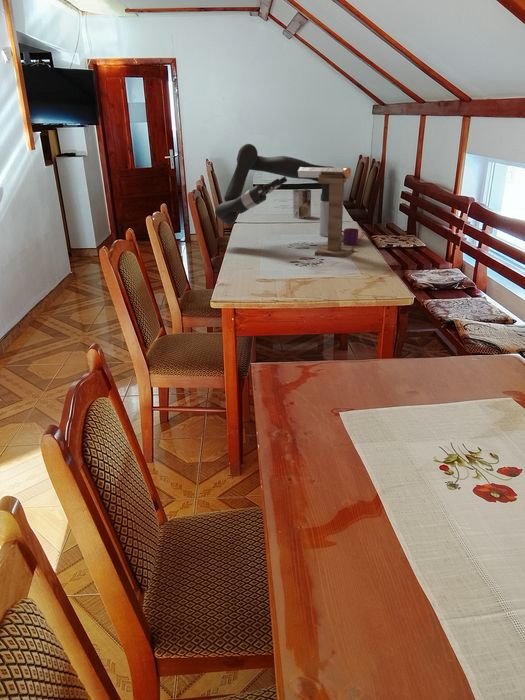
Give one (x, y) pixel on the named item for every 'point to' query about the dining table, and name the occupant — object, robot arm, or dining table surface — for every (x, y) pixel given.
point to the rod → (323, 172)
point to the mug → (350, 236)
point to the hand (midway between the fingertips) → (282, 179)
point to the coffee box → (301, 203)
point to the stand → (334, 217)
